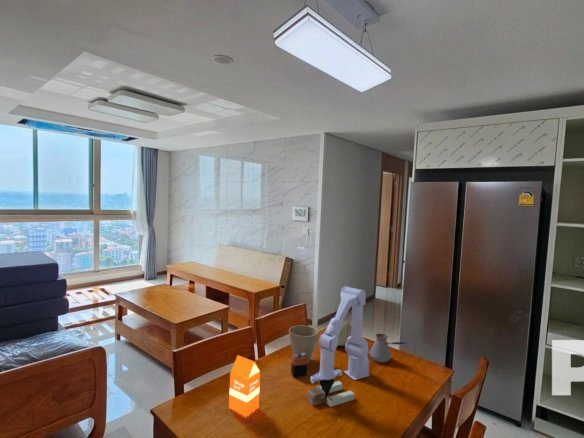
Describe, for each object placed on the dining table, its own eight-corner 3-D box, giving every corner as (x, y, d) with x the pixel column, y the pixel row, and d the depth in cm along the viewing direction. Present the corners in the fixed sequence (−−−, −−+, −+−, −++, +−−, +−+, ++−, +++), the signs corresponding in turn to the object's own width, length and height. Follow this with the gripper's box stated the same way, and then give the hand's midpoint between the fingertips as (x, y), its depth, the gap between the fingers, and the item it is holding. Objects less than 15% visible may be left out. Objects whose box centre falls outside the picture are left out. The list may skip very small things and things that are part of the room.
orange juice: (246, 418, 117) (248, 365, 116) (228, 409, 122) (230, 358, 121) (259, 407, 124) (261, 357, 123) (241, 399, 128) (243, 351, 127)
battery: (307, 376, 148) (308, 355, 148) (293, 378, 146) (294, 356, 146) (304, 371, 152) (305, 351, 152) (290, 373, 150) (291, 352, 150)
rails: (338, 386, 141) (339, 379, 141) (353, 399, 132) (354, 392, 132) (316, 392, 135) (316, 385, 135) (330, 406, 126) (330, 399, 126)
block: (319, 396, 132) (319, 387, 132) (324, 402, 129) (325, 392, 129) (307, 400, 130) (307, 390, 129) (312, 405, 126) (312, 396, 126)
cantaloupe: (326, 348, 178) (327, 322, 177) (327, 338, 192) (328, 314, 192) (352, 351, 176) (354, 325, 175) (352, 341, 190) (353, 316, 189)
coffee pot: (364, 357, 170) (366, 329, 169) (378, 352, 176) (380, 326, 176) (397, 375, 152) (399, 345, 152) (412, 369, 159) (414, 340, 158)
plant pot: (322, 361, 163) (323, 330, 163) (304, 371, 152) (305, 339, 152) (300, 351, 173) (301, 322, 173) (281, 360, 162) (282, 330, 161)
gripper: (335, 356, 137) (334, 386, 138) (307, 362, 131) (305, 394, 131) (345, 363, 131) (343, 395, 132) (316, 370, 124) (314, 404, 125)
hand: (325, 395), depth 131 cm, fingers closed
